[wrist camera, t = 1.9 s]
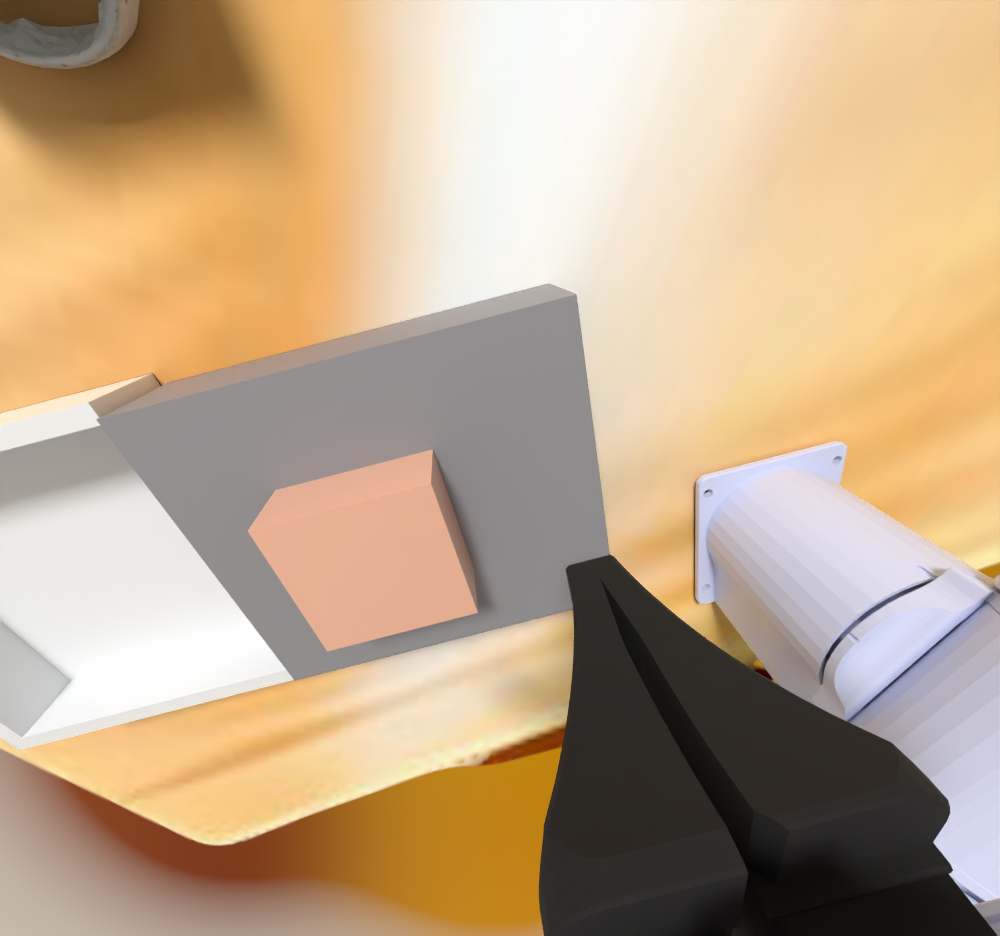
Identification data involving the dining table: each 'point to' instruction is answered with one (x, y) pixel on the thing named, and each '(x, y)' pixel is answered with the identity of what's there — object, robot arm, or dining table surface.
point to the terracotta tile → (369, 551)
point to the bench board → (391, 456)
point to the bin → (103, 585)
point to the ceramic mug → (70, 38)
